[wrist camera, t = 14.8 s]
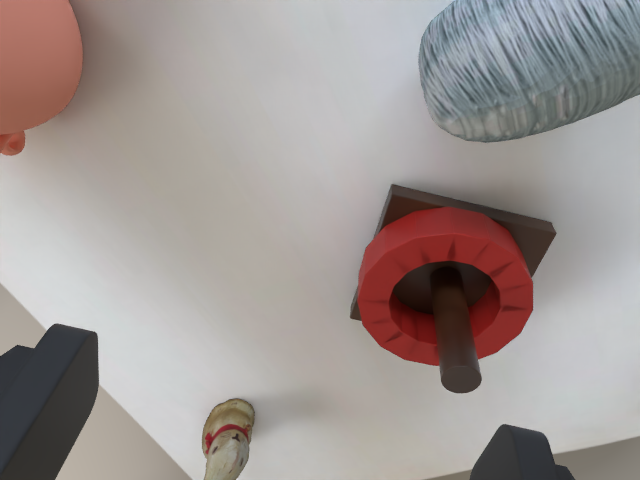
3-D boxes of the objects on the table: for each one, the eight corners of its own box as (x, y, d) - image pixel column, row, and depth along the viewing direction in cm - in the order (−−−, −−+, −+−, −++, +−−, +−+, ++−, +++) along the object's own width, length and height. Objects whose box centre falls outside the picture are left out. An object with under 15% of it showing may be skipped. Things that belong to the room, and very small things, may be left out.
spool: (698, -144, 25) (734, 16, 21) (674, 17, 32) (697, 158, 28) (405, -59, 31) (387, 79, 27) (443, 61, 38) (434, 183, 34)
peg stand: (350, 306, 46) (342, 420, 37) (391, 183, 39) (394, 283, 30) (488, 338, 47) (515, 458, 37) (551, 222, 40) (604, 332, 30)
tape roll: (345, 318, 45) (343, 348, 42) (381, 191, 38) (381, 217, 35) (489, 346, 45) (496, 378, 42) (549, 226, 38) (562, 255, 36)
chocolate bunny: (278, 422, 55) (259, 519, 47) (219, 445, 58) (193, 539, 50) (243, 390, 53) (218, 485, 45) (185, 415, 56) (150, 508, 48)
